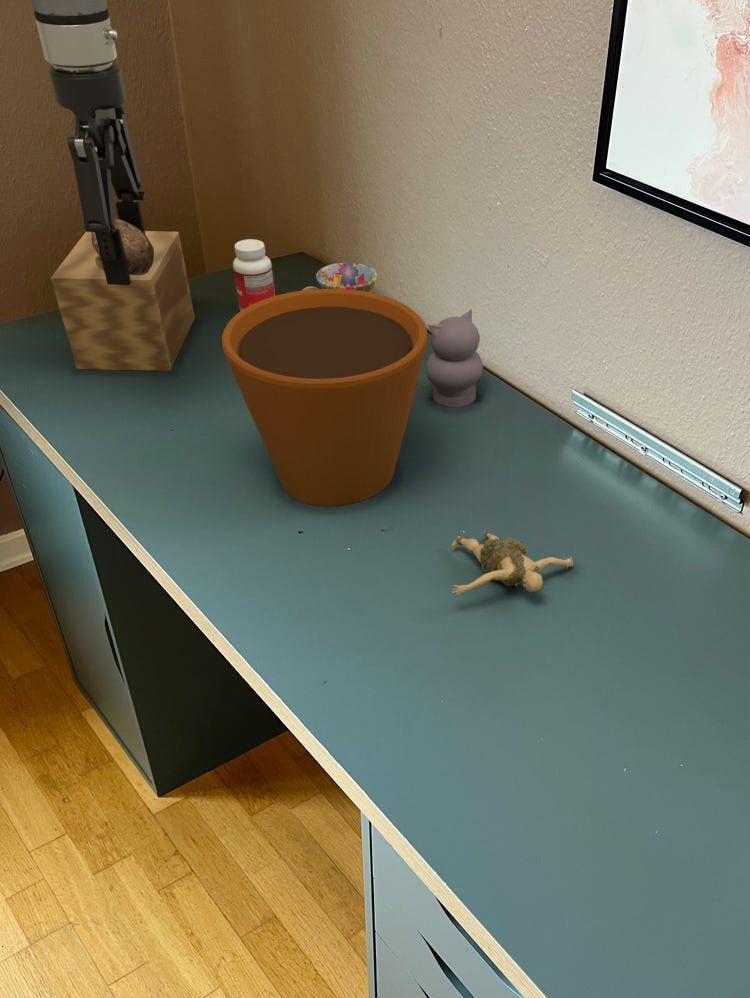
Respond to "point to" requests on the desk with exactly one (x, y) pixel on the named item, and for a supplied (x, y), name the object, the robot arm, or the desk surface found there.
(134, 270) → the mushroom
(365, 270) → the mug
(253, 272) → the pill bottle
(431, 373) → the cat figurine
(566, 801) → the desk surface
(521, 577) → the figurine
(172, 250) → the wood grain cube
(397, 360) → the flower pot
